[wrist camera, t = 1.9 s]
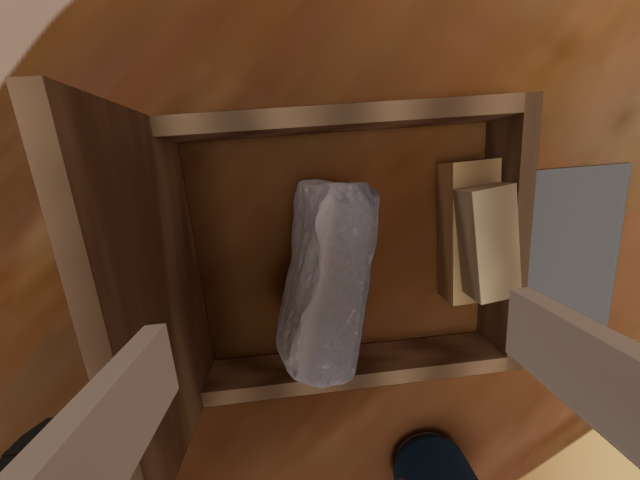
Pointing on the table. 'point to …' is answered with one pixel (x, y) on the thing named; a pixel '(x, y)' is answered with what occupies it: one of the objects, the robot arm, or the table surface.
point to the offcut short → (488, 240)
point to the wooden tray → (179, 248)
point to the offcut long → (447, 245)
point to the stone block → (327, 280)
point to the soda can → (431, 459)
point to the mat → (578, 235)
